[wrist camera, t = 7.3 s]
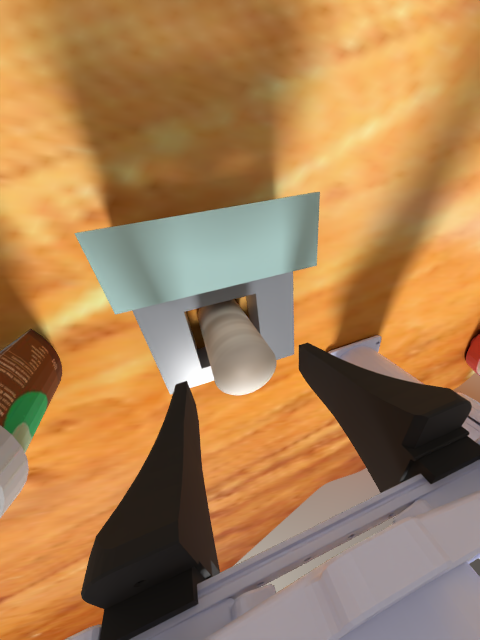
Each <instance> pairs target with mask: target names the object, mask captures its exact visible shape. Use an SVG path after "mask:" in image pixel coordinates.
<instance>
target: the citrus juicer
mask: <svg viewBox="0 0 480 640" xmlns="http://www.w3.org/2000/svg"><path fill="white" fill-rule="evenodd" d="M470 345H471V346H470V348H469V350H468V352H467V355H466V362H467V364H468V365H469V366H470V367H471V368H472V369H473V370H474V371H475V372H476V373H477V374H478V375H479V376H480V334H479V335H477V336H475V337H474V338H473V339H472V340H471V342H470Z"/></svg>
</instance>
